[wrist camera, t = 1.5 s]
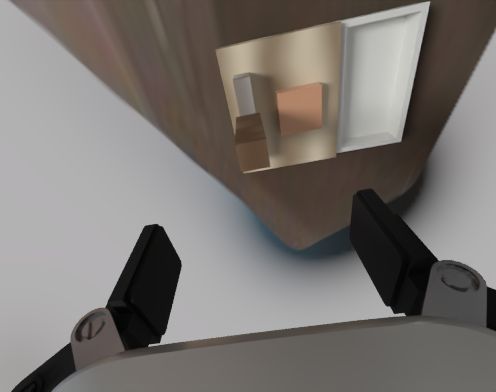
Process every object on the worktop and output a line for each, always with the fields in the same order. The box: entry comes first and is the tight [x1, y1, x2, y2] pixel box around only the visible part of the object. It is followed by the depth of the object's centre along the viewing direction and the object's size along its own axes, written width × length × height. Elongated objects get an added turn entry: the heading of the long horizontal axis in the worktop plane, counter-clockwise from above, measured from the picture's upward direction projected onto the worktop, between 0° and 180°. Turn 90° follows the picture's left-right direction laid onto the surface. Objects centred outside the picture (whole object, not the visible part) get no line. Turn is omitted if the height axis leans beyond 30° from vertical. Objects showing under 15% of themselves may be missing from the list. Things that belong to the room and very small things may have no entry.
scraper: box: [233, 72, 270, 172], centre depth 22 cm, size 2×9×10 cm, turn 10°
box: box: [331, 1, 430, 153], centre depth 27 cm, size 8×14×3 cm, turn 11°
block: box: [275, 82, 322, 136], centre depth 25 cm, size 4×4×2 cm
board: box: [216, 22, 341, 173], centre depth 28 cm, size 12×14×4 cm
